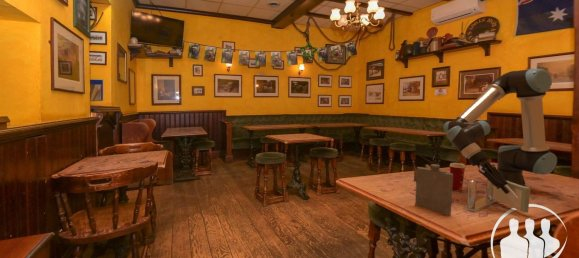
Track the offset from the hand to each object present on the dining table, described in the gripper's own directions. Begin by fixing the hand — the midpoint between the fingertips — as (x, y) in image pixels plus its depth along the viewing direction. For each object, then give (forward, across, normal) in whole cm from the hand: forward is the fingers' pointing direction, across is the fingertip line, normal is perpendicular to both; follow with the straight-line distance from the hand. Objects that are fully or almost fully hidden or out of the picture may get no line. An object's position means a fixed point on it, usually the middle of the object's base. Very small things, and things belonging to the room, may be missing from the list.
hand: (515, 199), depth 125 cm
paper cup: (-17, -17, -26) cm, 36 cm away
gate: (+1, -5, -6) cm, 7 cm away
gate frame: (-5, 0, -13) cm, 14 cm away
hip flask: (-12, +24, -20) cm, 34 cm away
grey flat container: (-32, -19, -41) cm, 55 cm away
